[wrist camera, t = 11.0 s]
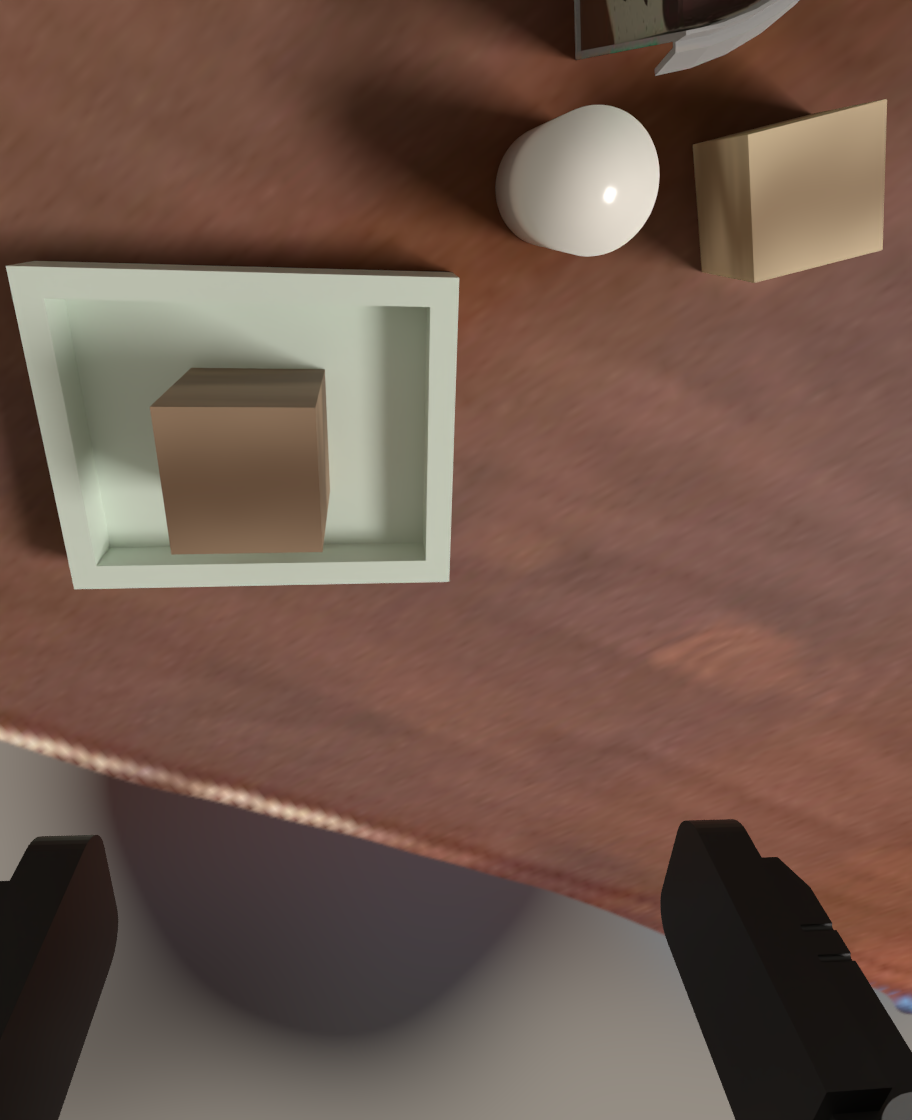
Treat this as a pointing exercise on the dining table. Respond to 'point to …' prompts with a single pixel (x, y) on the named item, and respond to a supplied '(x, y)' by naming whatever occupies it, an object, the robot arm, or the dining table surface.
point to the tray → (244, 342)
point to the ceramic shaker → (579, 181)
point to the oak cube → (792, 193)
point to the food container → (672, 27)
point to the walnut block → (244, 460)
